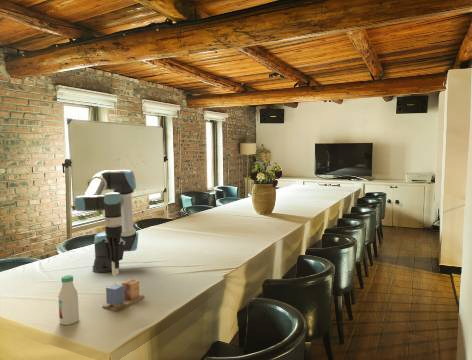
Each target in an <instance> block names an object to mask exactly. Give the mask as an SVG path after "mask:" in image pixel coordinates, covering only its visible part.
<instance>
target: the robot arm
mask: <svg viewBox="0 0 472 360" xmlns="http://www.w3.org/2000/svg"><path fill="white" fill-rule="evenodd" d="M136 189H137V184H136V176H135V173H134V171H133V170H131V169H112V170H109V169H107V170H101V171H100V172H98V173H95V174H94V175H93V176H92V177H91V178H90V179H89V181H88V187H87V189H86V191H85V192H84V194H83V195H77V196H75V198H74V209H75V211H76V212H96V211H97V212H99V211H100V212H101V211H104V226H105V227H104V231H103V232H99V233H97V234H96V235H94V241H93V243H94V257H95V258H94V260H93V265H92V272H94V273H101V274H103V273H109V272H111V275H112V276H117V275H119V268H120V261H122V260H123V258H124V253H125V252H135V251H137V250H138V243H139V242H138V241H139V232H137V229H136V228H135V227H134V215H133V200H132V198H133V197H132V194H133V193H134V191H135V190H136ZM104 191H113V192H106V193H104V195H102V193H103V192H104Z"/></svg>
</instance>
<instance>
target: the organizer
mask: <svg viewBox="0 0 472 360" xmlns="http://www.w3.org/2000/svg"><path fill="white" fill-rule="evenodd" d="M121 285H124V294H125V301H123V302H121V303H120V304H118V305H112V304H107V303H105V304H103V305H102V309H107V310H110V311H114V312H118V313H119V312H121V311H123V310H124V309H126V308H128V307H129V306H131V305H133V304H135V303H136V302H138V301H139V300H143V298H145V295H143V294H140V281H139V280H137V279H132V278H129V279H128V280H127V279H126V280H125V281H123V282H122V283H121Z"/></svg>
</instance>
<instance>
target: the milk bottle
mask: <svg viewBox="0 0 472 360" xmlns="http://www.w3.org/2000/svg"><path fill="white" fill-rule="evenodd" d="M61 284H62V285H61V288H60V291H59V294H58V315H59V317H58V318H59V319H58V320H59V323H60V325H63V326H68V325H72V324H75V323H77V322H78V321H79V319H80V311H79V310H80V309H79V296H78V290H77V289H76V287H75V285H74V275H70V274H69V275H64V276H62V277H61Z"/></svg>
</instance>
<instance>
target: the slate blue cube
mask: <svg viewBox="0 0 472 360" xmlns="http://www.w3.org/2000/svg"><path fill="white" fill-rule="evenodd" d="M105 291H106V292H105V293H106V304H112V305H118V304H120V303H121V302H123V301H125V294H124V285H122V284H119V283H113V284H111V285H108V286H107V287H105Z"/></svg>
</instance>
